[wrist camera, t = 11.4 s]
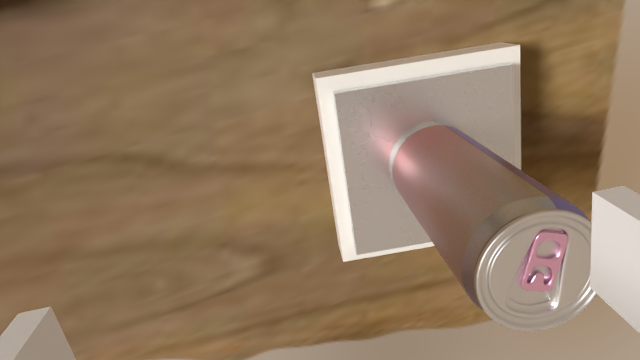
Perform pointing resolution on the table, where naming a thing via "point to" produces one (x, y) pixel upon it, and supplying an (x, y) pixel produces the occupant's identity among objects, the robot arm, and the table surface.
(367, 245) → the pan
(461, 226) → the beverage can
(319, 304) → the table surface
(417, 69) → the base
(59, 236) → the table surface
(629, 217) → the robot arm
